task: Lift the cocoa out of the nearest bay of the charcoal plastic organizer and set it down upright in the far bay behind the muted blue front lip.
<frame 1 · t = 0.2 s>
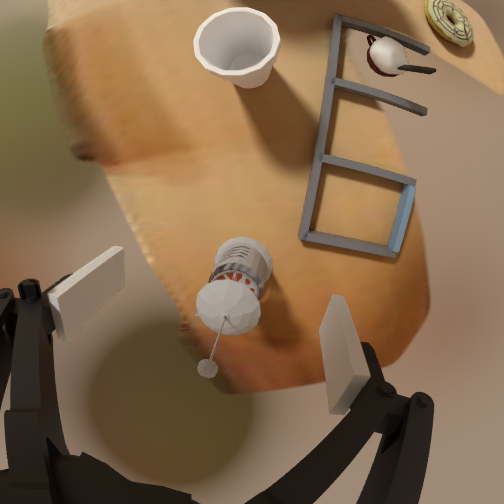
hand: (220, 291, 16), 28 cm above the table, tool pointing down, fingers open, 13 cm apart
organizer: (373, 131, 36), on the table
decorated donut: (444, 24, 25), on the table
french press: (239, 267, 46), on the table
cocoa: (380, 65, 32), resting in organizer
foam cup: (249, 70, 35), on the table
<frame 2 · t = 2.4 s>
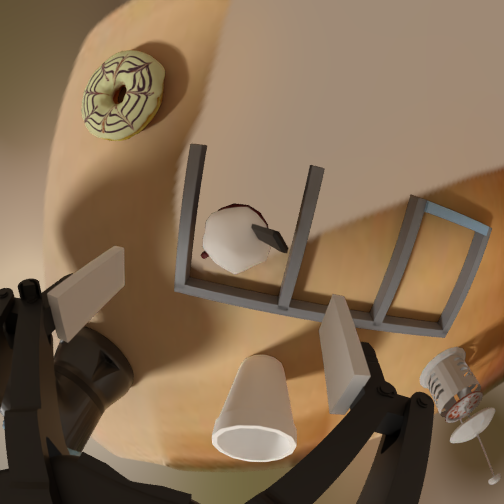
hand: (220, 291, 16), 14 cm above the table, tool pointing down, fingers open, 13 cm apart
organizer: (350, 250, 29), on the table
decorated donut: (130, 97, 26), on the table
french press: (443, 370, 35), on the table
cocoa: (244, 226, 30), resting in organizer
foam cup: (261, 369, 37), on the table
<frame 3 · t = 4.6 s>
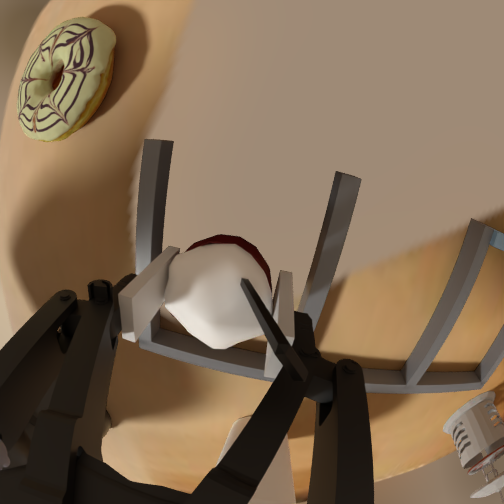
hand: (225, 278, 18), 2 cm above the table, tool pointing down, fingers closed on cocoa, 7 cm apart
organizer: (386, 298, 19), on the table
decorated donut: (77, 80, 16), on the table
french press: (469, 414, 25), on the table
cocoa: (235, 265, 20), resting in organizer, touching gripper
foam cup: (259, 428, 27), on the table
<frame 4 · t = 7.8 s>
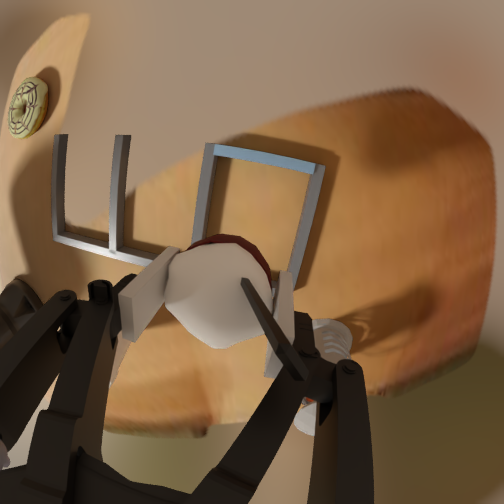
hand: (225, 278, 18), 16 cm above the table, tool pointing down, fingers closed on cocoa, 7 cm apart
organizer: (160, 200, 33), on the table
decorated donut: (35, 107, 30), on the table
french press: (323, 347, 39), on the table
cocoa: (235, 265, 20), point 14 cm above the table, touching gripper
foam cup: (123, 315, 41), on the table
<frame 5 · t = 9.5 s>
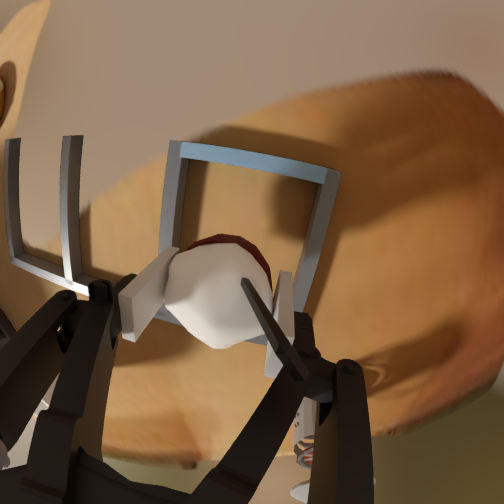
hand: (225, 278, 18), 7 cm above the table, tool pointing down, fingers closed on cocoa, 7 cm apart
organizer: (118, 219, 24), on the table
french press: (328, 394, 30), on the table
cocoa: (235, 265, 20), point 4 cm above the table, touching gripper
when the fingers open (3 cm above the table, at t = 11.0 s): cocoa stays where it is, resting in organizer.
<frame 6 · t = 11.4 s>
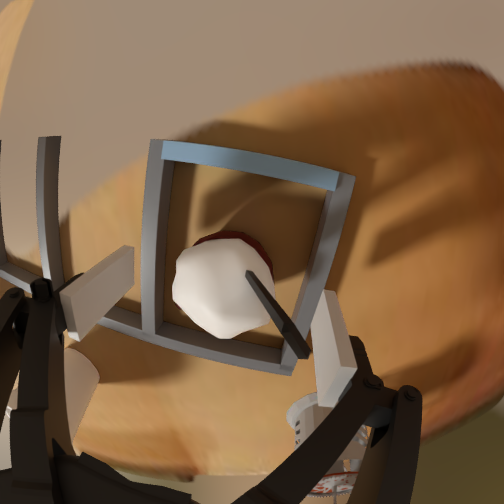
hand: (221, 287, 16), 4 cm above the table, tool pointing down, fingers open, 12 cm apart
organizer: (99, 230, 21), on the table
french press: (332, 416, 26), on the table
cocoa: (238, 260, 21), resting in organizer
foam cup: (81, 365, 29), on the table
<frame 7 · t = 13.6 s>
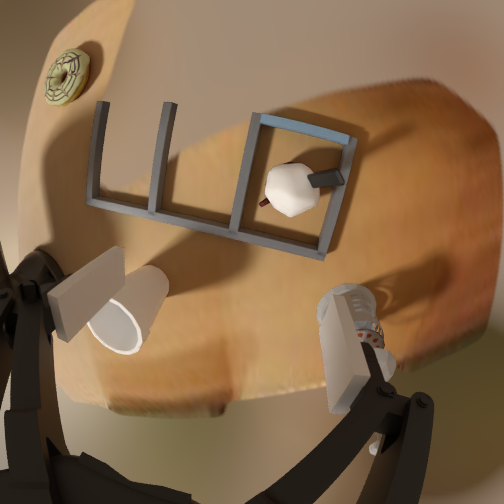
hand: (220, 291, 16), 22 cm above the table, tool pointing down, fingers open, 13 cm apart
organizer: (203, 165, 35), on the table
decorated donut: (73, 78, 32), on the table
french press: (349, 314, 41), on the table
cocoa: (293, 184, 35), resting in organizer
foam cup: (152, 281, 43), on the table
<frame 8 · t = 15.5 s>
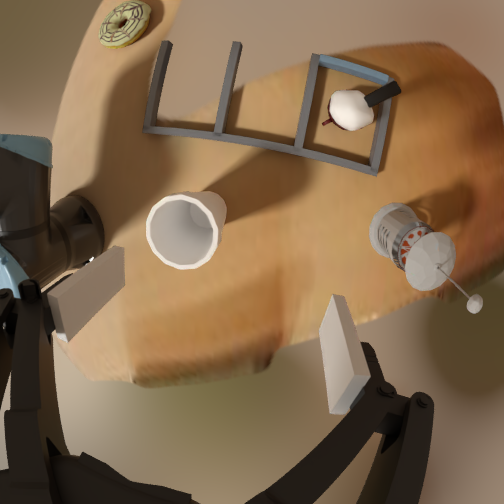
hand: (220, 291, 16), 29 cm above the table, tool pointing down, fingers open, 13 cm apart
organizer: (267, 94, 37), on the table
decorated donut: (129, 27, 33), on the table
french press: (396, 234, 42), on the table
cocoa: (346, 113, 36), resting in organizer
foam cup: (208, 209, 44), on the table
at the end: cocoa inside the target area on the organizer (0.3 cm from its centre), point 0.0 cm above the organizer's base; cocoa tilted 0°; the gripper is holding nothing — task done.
